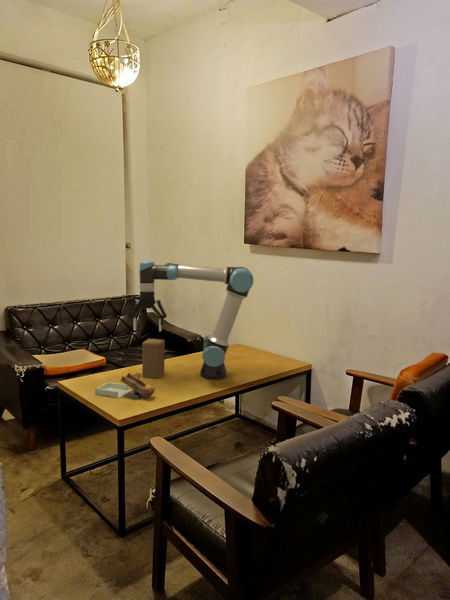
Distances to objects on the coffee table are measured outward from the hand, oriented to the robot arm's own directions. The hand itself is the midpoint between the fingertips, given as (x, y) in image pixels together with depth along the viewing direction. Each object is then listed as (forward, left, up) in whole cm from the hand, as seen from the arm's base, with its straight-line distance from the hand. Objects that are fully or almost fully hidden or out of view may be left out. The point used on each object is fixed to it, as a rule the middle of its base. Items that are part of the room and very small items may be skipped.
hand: (147, 330), depth 240 cm
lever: (-5, +18, -24) cm, 30 cm away
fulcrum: (-5, +21, -28) cm, 36 cm away
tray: (+8, +21, -28) cm, 36 cm away
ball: (-11, +21, -23) cm, 34 cm away
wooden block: (+2, -10, -28) cm, 30 cm away
